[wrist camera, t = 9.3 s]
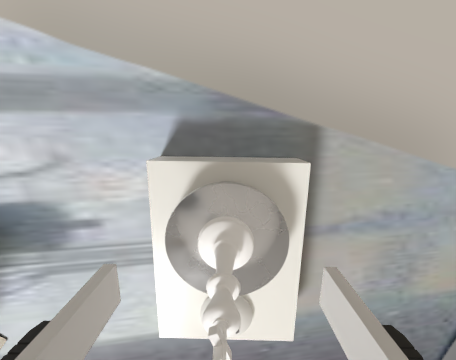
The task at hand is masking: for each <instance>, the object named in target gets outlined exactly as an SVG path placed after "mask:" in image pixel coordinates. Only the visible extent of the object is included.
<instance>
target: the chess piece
mask: <svg viewBox="0 0 456 360" xmlns="http://www.w3.org/2000/svg"><path fill="white" fill-rule="evenodd" d="M253 249H254V237H253V234H252V232H251V230H250V228H249V227H248V226H247V225H246V224H245V223H244V222H243V221H241V220H239V219H237V218H234V217H229V216H223V217H217V218H214V219H212V220H210V221H209V222H208V223H206V224H205V225H204V227H203V228H202V229H201V231H200V233H199V237H198V250H199V253H200V256H201V257H202V259H203V260H204V261H205V262H206V263H207V264H208V265H209V266H211V267H212V268H215V269H216V274H214V275H213V276H211V277H210V278H209V280H208V281H207V285H206V290H207V293H208V296H209V297H210V299H211V301H210V303H209V304H208V306H207V307H206V309H205V311H204V313H203V316H202V325H203V327H204V329H205V330H206V332H207V333H208V337H209V339H210V341H211V343H212V345H213V347H214V348H213V360H232V352H231V350H230V348H229V346H228V344H227V337H230V336H232V335H233V334H235V333H236V332H237V331H238V329H239V328H240V325H241V317H240V313H239V311H238V308H237V307H236V305H235V302H234V300H235V299H236V298H237V297H238V295H239V293H240V283H239V281H238V279H237V278H236V277H235V276H234V275H232V272H233V270H235V269H238V268H240V267H242V266H243V265H245V264H246V263H247V262H248V260H249V259H250V258H251V256H252V253H253Z"/></svg>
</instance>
